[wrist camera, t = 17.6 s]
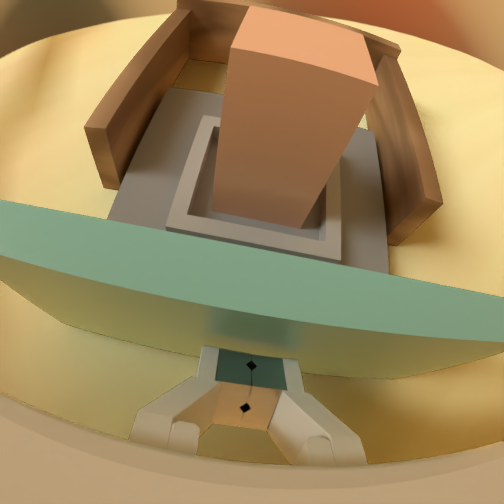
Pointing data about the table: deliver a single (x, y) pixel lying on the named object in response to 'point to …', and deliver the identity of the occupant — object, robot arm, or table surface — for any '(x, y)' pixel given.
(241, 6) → the dock
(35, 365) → the table surface
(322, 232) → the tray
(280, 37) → the terracotta block
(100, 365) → the table surface
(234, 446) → the table surface
